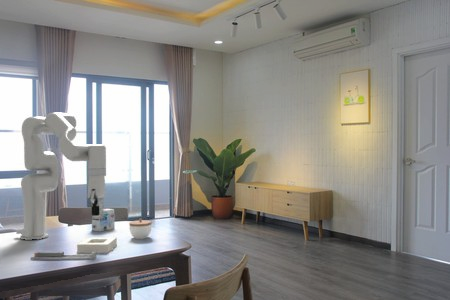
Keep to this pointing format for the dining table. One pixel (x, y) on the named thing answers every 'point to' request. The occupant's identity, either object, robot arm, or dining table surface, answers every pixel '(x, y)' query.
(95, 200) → the grey canister
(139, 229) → the lidded jar
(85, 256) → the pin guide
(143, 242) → the dining table surface
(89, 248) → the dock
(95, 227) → the light bulb box
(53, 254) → the lock pin
